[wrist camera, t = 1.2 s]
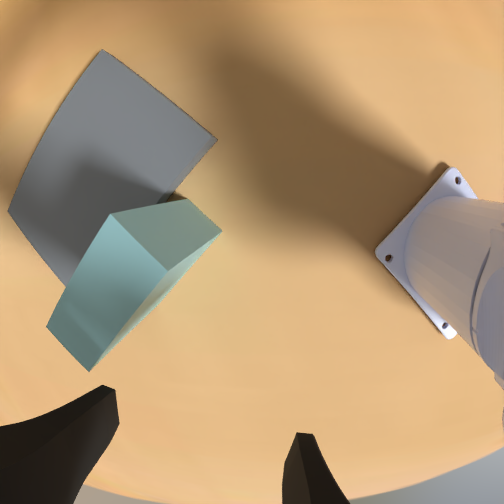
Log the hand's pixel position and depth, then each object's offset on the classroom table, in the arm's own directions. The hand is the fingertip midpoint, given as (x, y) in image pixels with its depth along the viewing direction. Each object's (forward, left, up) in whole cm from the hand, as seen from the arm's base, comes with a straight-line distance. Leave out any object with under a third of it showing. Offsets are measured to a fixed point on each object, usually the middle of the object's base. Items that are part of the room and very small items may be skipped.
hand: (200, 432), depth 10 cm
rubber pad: (+14, 0, -10) cm, 18 cm away
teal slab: (+6, 0, -11) cm, 12 cm away
